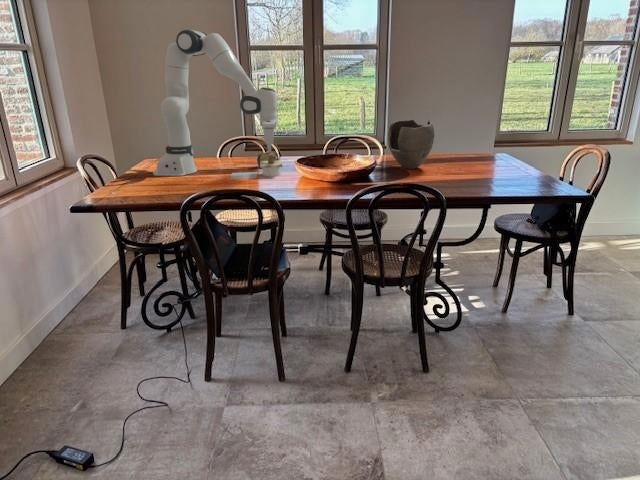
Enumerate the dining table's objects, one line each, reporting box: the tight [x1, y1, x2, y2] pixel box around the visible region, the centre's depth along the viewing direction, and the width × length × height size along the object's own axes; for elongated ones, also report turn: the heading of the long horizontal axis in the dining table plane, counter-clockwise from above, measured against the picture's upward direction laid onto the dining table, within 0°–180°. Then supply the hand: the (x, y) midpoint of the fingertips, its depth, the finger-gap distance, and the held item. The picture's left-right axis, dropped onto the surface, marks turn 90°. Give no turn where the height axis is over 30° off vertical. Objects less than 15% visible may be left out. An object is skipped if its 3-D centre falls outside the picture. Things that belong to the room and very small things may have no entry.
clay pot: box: [387, 119, 435, 170], centre depth 246 cm, size 24×24×25 cm
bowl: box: [262, 167, 281, 178], centre depth 238 cm, size 9×9×5 cm
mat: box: [230, 171, 258, 180], centre depth 238 cm, size 13×13×1 cm
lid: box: [259, 155, 283, 169], centre depth 236 cm, size 11×11×5 cm
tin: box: [256, 150, 279, 168], centre depth 256 cm, size 15×3×8 cm, turn 143°
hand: (269, 150), depth 234 cm, fingers open, 8 cm apart
